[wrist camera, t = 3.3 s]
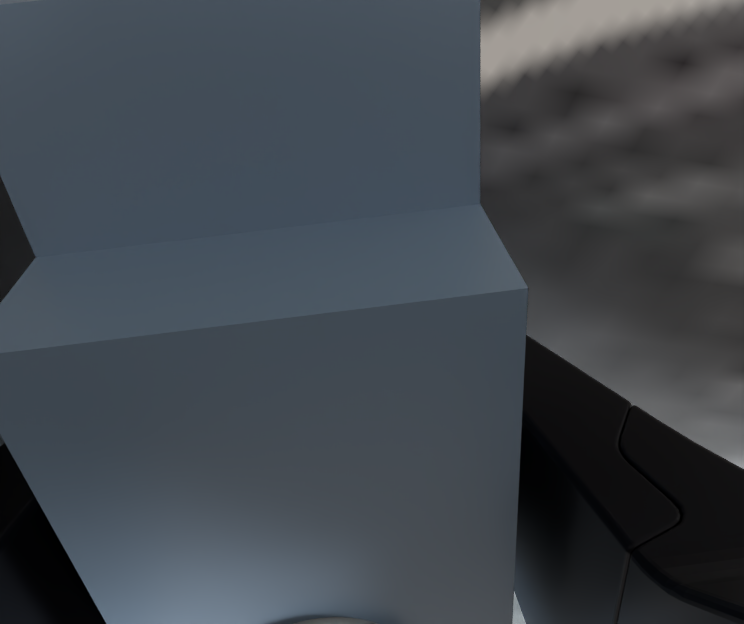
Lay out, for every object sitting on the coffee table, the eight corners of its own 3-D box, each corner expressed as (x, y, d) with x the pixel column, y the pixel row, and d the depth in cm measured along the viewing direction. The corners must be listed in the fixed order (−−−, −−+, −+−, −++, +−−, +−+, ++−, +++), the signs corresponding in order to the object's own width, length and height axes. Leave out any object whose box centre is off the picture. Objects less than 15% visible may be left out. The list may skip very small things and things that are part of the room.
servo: (413, -68, 8) (554, -29, 3) (441, 498, 13) (508, 798, 9) (77, -31, 8) (-242, 61, 3) (246, 524, 13) (215, 838, 9)
